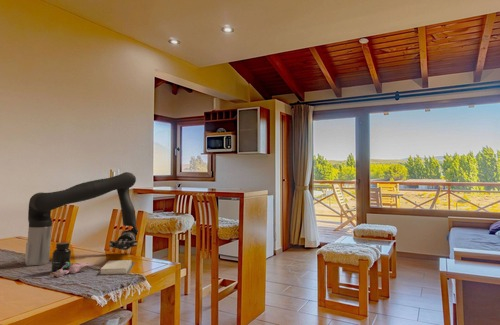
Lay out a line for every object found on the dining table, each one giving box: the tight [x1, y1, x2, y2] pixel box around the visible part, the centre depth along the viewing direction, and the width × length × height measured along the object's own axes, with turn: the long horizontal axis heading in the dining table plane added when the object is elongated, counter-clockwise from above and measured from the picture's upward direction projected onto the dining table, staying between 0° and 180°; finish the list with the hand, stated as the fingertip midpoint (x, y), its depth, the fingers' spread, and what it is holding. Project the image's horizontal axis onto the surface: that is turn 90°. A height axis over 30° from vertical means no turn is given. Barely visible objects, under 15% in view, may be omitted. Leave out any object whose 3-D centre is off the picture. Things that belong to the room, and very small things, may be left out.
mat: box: [96, 261, 136, 277], centre depth 140 cm, size 22×12×1 cm, turn 13°
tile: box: [100, 259, 133, 274], centre depth 138 cm, size 2×10×15 cm
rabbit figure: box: [49, 262, 92, 279], centre depth 131 cm, size 6×6×15 cm
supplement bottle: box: [50, 241, 72, 273], centre depth 135 cm, size 7×7×12 cm
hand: (120, 247), depth 143 cm, fingers closed
